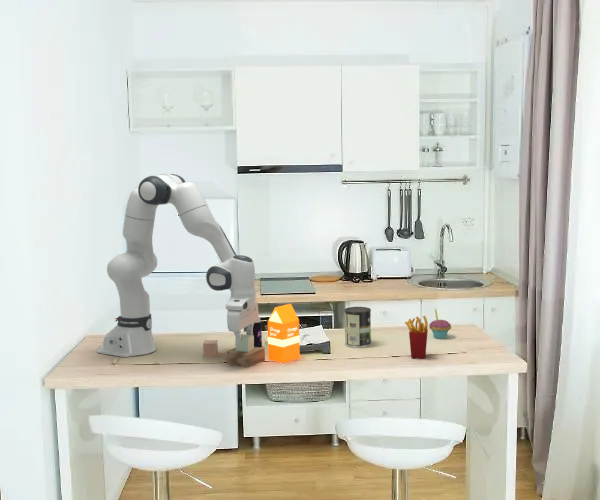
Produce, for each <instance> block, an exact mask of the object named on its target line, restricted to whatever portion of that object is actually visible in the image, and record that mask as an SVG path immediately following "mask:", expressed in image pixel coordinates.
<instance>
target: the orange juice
mask: <svg viewBox="0 0 600 500" xmlns="http://www.w3.org/2000/svg"><path fill="white" fill-rule="evenodd" d="M267 344H268V360H269V361H273V362H277V363H282V364H285V363H289V362H291V361H294V360H297V359H300V358H301V357H300V352H301V351H300V349H301V348H300V319H299V317H298V315H297V313H296V311H295V309H294V307H293V305H292V303H288V304H284V305H279V306H275V307H274V309H273V311H272V313H271V315H270V317H269V319H268V320H267Z"/></svg>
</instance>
